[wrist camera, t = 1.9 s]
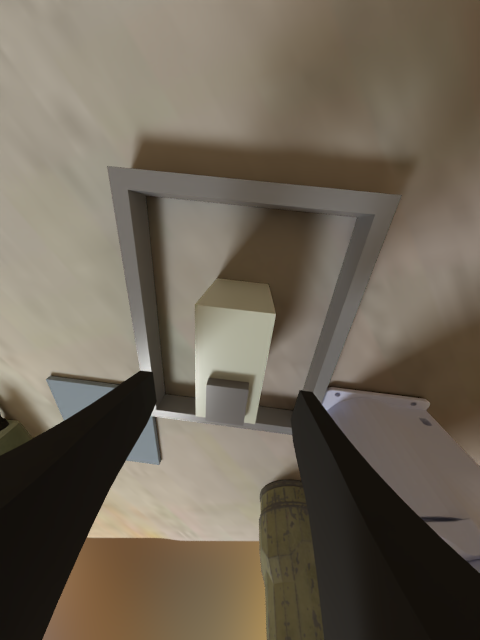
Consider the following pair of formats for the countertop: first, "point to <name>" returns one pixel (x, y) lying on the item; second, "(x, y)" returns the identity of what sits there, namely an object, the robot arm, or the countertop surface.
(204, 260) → the countertop surface
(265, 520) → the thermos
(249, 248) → the countertop surface
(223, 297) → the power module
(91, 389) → the rubber mat
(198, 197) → the gray rectangular frame
